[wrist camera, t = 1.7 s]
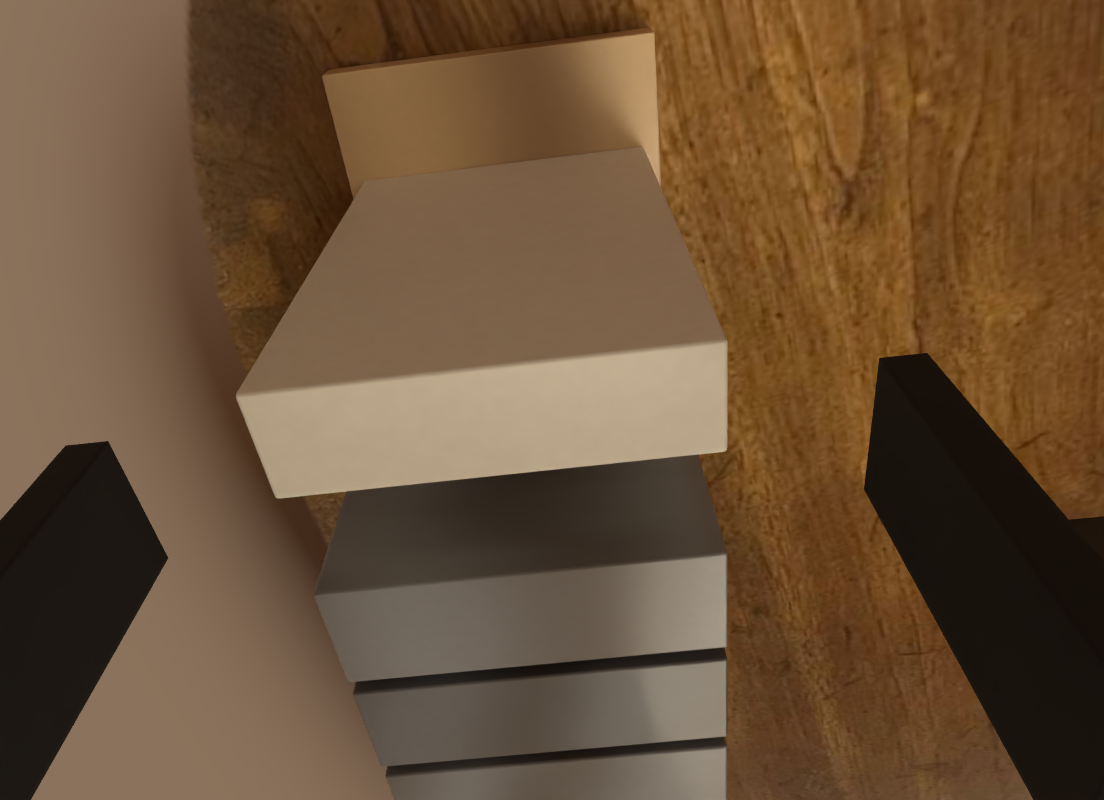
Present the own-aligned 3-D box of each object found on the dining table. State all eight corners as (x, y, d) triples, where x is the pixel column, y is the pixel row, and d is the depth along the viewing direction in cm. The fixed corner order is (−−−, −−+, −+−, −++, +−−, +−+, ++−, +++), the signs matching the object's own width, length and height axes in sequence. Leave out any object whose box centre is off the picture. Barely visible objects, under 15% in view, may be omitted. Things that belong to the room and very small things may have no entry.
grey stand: (444, 528, 35) (397, 855, 23) (328, 69, 25) (135, 228, 13) (672, 505, 34) (745, 826, 22) (650, 26, 24) (761, 151, 12)
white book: (381, 253, 27) (274, 500, 16) (363, 180, 25) (232, 395, 14) (647, 221, 26) (728, 452, 15) (643, 145, 25) (728, 339, 14)
